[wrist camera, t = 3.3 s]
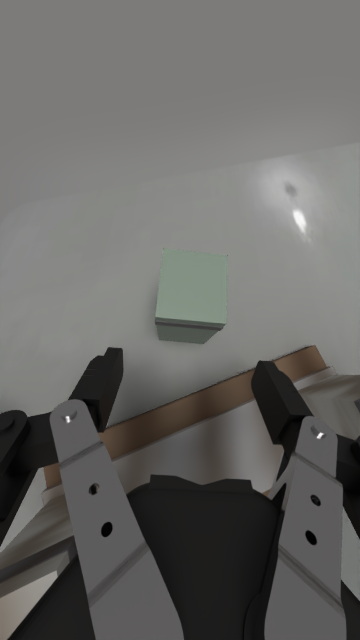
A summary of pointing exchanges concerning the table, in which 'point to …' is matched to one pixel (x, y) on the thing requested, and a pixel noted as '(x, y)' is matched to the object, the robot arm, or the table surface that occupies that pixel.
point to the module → (191, 296)
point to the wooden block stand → (175, 463)
